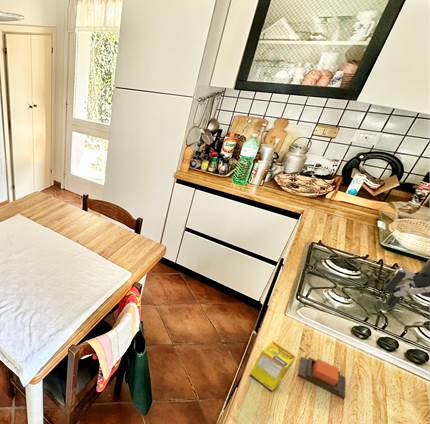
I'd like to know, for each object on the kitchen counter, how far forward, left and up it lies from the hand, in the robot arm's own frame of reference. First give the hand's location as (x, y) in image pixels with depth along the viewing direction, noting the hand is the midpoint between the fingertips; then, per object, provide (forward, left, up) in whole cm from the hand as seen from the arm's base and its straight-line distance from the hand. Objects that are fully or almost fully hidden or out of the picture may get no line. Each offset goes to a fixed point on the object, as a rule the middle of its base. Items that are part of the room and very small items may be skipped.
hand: (414, 314), depth 71 cm
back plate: (+8, +6, -26) cm, 28 cm away
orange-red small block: (+8, +6, -25) cm, 27 cm away
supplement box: (+20, +16, -26) cm, 37 cm away
